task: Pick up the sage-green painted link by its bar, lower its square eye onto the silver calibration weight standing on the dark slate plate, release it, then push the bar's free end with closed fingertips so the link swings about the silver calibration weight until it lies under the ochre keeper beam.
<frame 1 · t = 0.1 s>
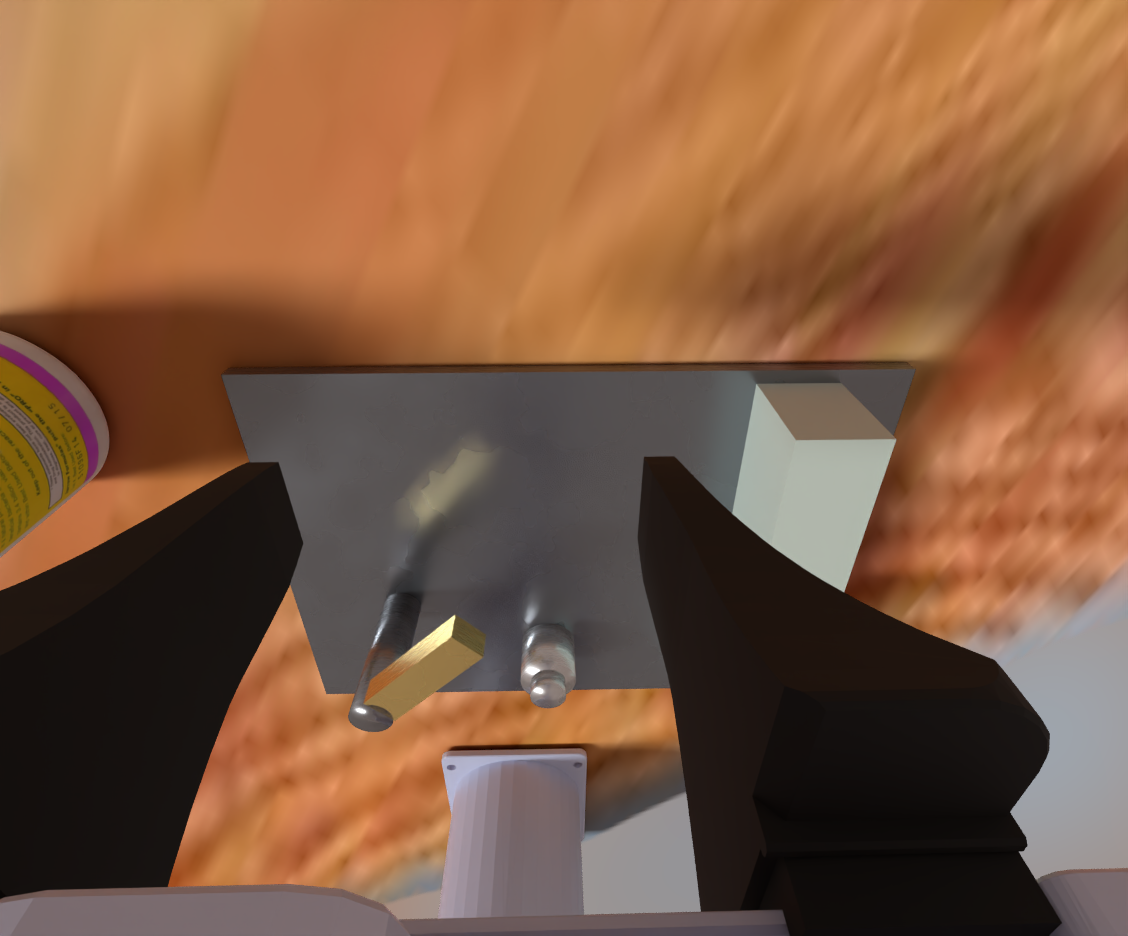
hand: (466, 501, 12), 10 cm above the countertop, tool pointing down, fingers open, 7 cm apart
supplement bottle: (22, 405, 22), on the countertop
silver calibration weight: (548, 631, 28), resting on base plate
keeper: (405, 596, 27), resting on base plate
link: (798, 383, 21), point 1 cm above the countertop, touching base plate
base plate: (569, 550, 26), on the countertop
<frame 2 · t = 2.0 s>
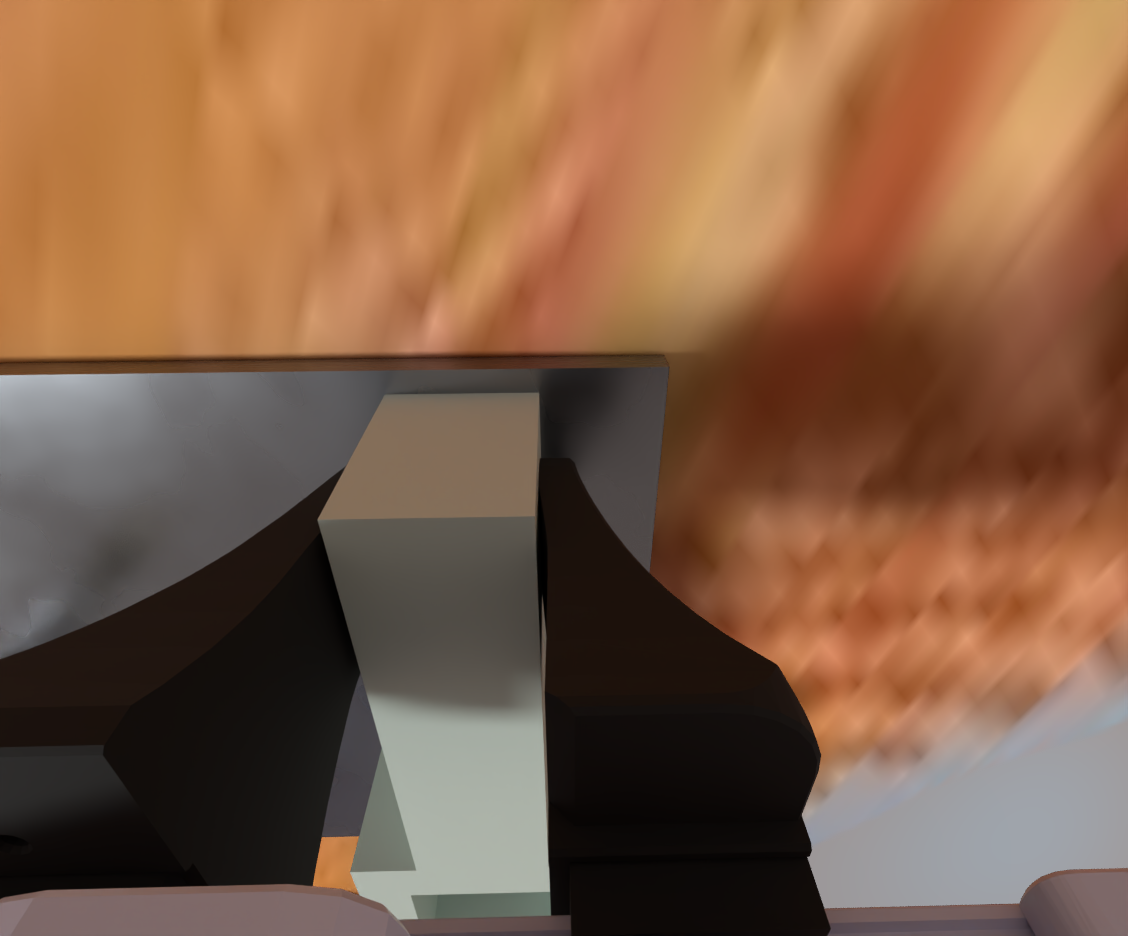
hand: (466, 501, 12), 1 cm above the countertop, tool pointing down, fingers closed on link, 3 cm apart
link: (462, 393, 12), point 1 cm above the countertop, touching base plate, gripper
base plate: (199, 654, 16), on the countertop
when the fingers open (3 cm above the countertop, at t = 4.9 s): link moves 1 cm, resting on base plate.
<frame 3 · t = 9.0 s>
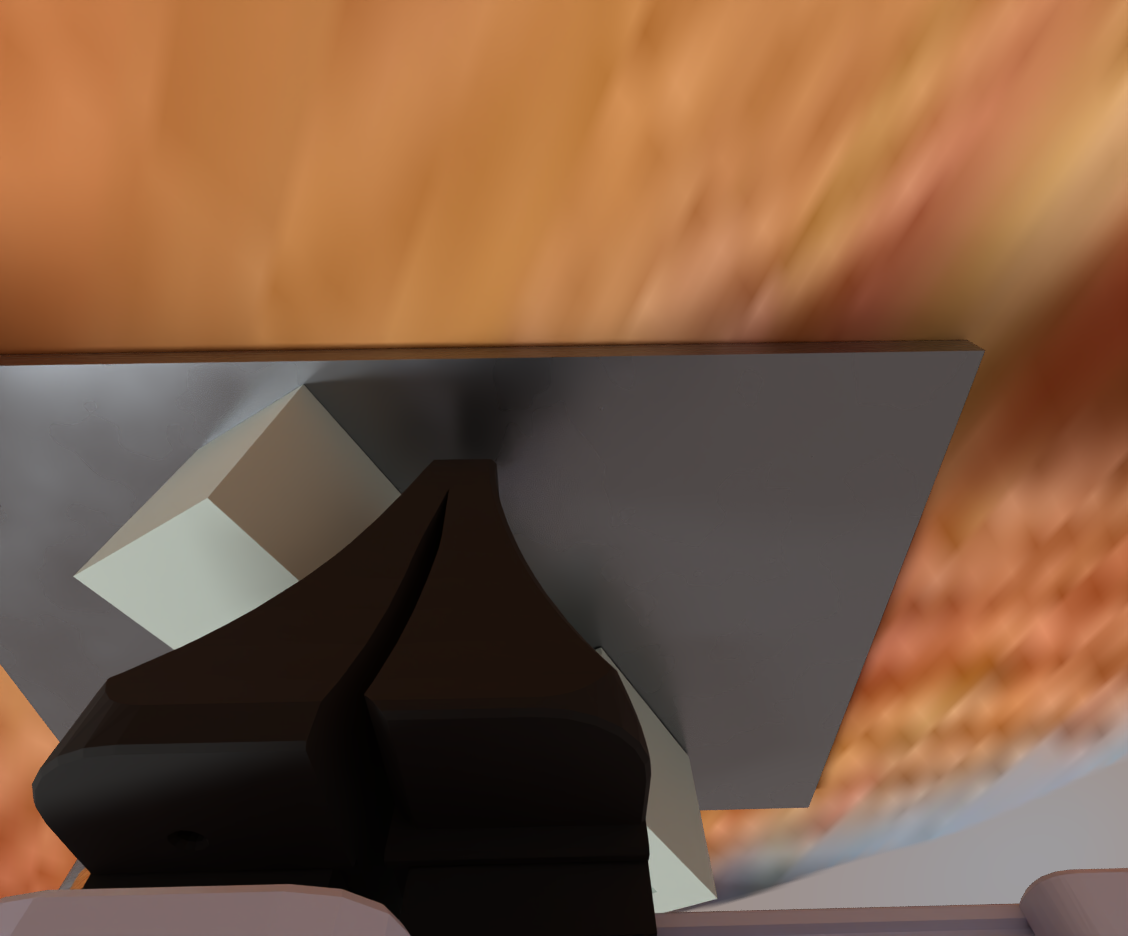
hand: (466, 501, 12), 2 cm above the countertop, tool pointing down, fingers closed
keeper: (208, 697, 18), resting on base plate
link: (249, 417, 13), point 1 cm above the countertop, touching base plate, gripper
base plate: (442, 634, 17), on the countertop
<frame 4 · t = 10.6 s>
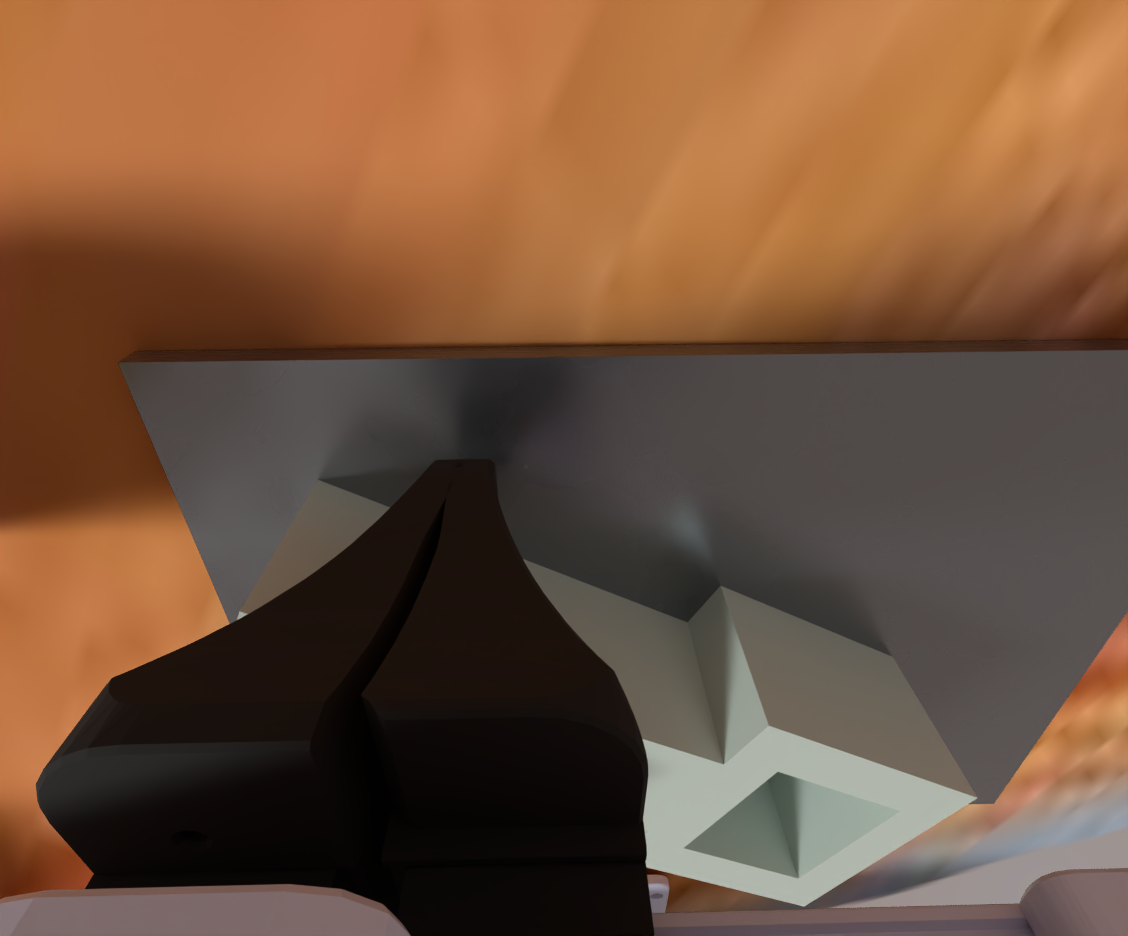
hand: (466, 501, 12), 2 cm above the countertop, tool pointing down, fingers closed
link: (299, 526, 14), point 1 cm above the countertop, touching base plate, gripper
base plate: (676, 629, 17), on the countertop
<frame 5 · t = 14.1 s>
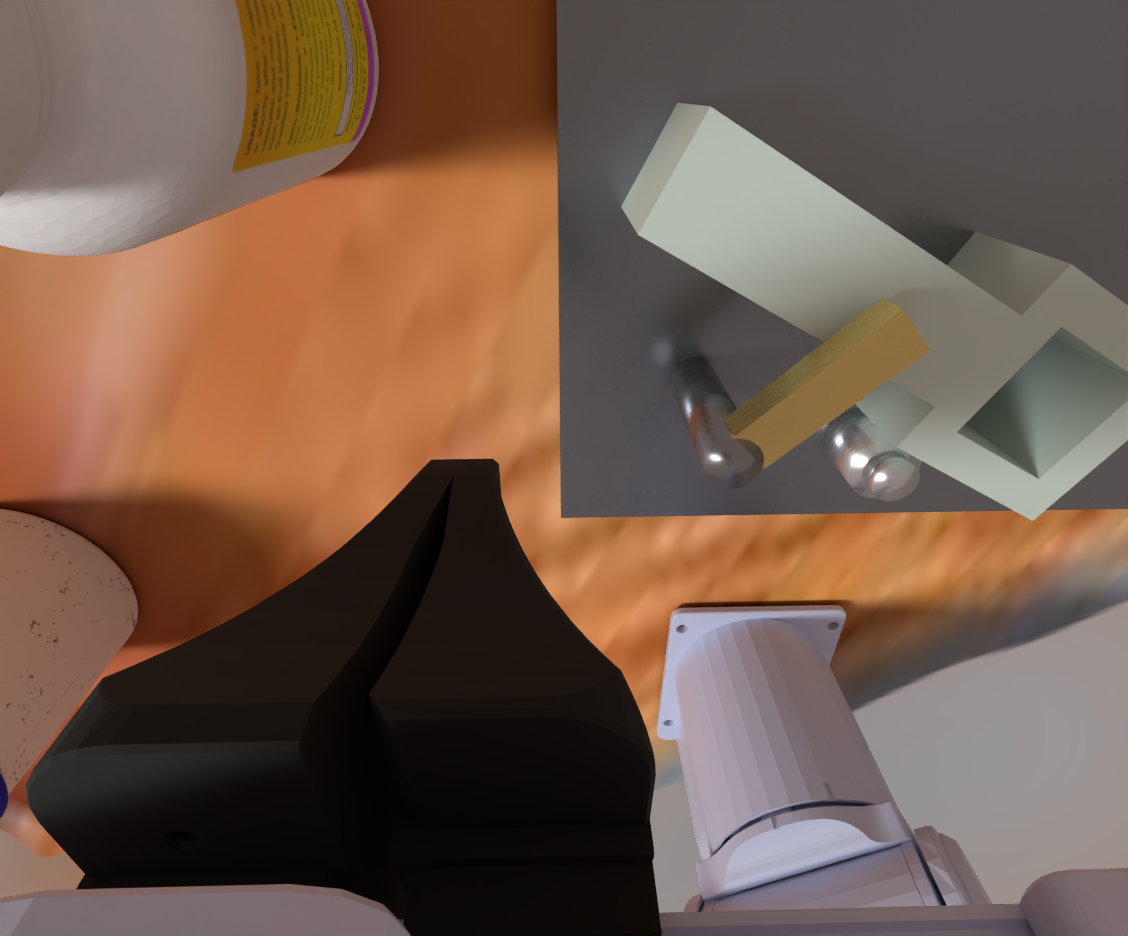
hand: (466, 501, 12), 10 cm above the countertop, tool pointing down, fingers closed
supplement bottle: (261, 46, 16), on the countertop
silver calibration weight: (849, 429, 23), resting on base plate
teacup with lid: (23, 595, 27), on the countertop
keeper: (688, 372, 21), resting on base plate
link: (648, 156, 17), point 1 cm above the countertop, touching base plate
base plate: (916, 298, 20), on the countertop
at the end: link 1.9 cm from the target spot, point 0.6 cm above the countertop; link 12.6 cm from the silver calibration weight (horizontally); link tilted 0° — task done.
